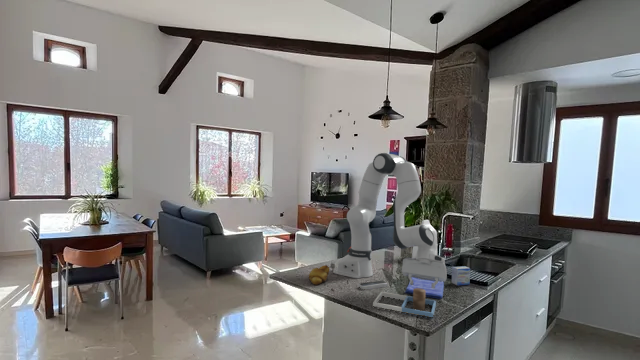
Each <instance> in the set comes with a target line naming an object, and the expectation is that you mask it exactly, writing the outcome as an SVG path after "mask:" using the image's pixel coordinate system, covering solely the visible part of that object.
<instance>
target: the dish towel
mask: <svg viewBox="0 0 640 360" xmlns="http://www.w3.org/2000/svg"><path fill="white" fill-rule="evenodd" d="M412 280H414V285H410V281H409V282H408V284H407V287H406V288H405V289H406V290H405V291H404V293H405V294H407V295H412V296H413V289H415V288H421V289H424V290H425V291H426V295H425V298H431V299H439V300H441V299H443V296H444V288H445V281H438V283H437V284H436V285H435V289H434V288H431V285H432V283H434V282H435V280H431V279H423V278H417V277H412Z"/></svg>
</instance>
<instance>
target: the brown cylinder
mask: <svg viewBox="0 0 640 360" xmlns="http://www.w3.org/2000/svg"><path fill="white" fill-rule="evenodd" d="M425 295H426V291H425V290H424V289H421V288H415V289H413V295H412V297H413V302H412V309H413V308H414V309H416V310H424V311H426V304H425V299H426V297H425Z"/></svg>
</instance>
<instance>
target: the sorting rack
mask: <svg viewBox="0 0 640 360" xmlns="http://www.w3.org/2000/svg"><path fill="white" fill-rule="evenodd" d="M382 296H384V297H382ZM381 297H382V298H387V297H390V298H389V299H393V298H395V299H394V300H399V299H400V301H403V303H402V304H401V306H397V305H392V304H387V303H386V304H385V303H382V302H381V303H380V301H381V300H382V298H381ZM379 300H380V301H379ZM378 301H379V302H378ZM410 301H412V303H413V296H410V295H405V294H404V295H403V294H398V293H391V292H385V291H380V293H379V294H378V295H377V297H376V298H375V299H374V300H373V302H372V307H373V306H378V307H382V308H387V309H392V310H397V311H402V312H408V313H414V314H419V315H425V316H429V317H433V318H434V316H433V315H435V310H436V307H437V300H434V299H428V298H425V305H428V304H429V305H430V306H432V308H431V312H430V311H426V310H424V311H420V310H415V309H413V308H408V307H407V305H408V303H407V302H410ZM377 302H378V303H377ZM406 304H407V305H406ZM405 306H406V307H405Z"/></svg>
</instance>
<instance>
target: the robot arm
mask: <svg viewBox="0 0 640 360" xmlns="http://www.w3.org/2000/svg"><path fill="white" fill-rule="evenodd" d="M386 176H391V177H393V176H394V177H395V179H396V185H397V193H396V196H395V197H394V200H393V233H392V241H393V243H394V245H395V246H397V248H398V249H401V250H404V249H405V250H406V249H408V248H413V247H414V246H418V250H417V255H416V258H412V257H408V256H407V257H404V258H403V259H402V266H401V274H402V276H403V277H408V280H409V282H410V285H414V280H412V277H414V278H418V279H423V280H431V281H435V282H434V283H432V285H431V288H434V289H435V285H436V284H437V283H438V281H440V282H446V281H447V278H448V276H447V272H448V271H447V267H446V261H445V258H444V257H442V256H440V255H438V254H437V255H436V254H435V251H436V247H437V248H438V236H437V237H436V233H435V231H434V230H432V229H429V228H428V227H426V226H425V225H421V224H417V225H413V226H412V225H411V226H409V227H408V226H407V227H405V211H406V208H408V206H410V205H411V203H413V202H416V200H417V199H418V198H419V197H420V195H421V194H422V186H421V181H420V177H419V173H418V171H417V168H416V165H415V164H414V163H412V162H410V161H407V159H406V158H405V157H403V156H401V155H397V154H394V153H387V152H383V153H381V152H380V153H378V154H376V155H375V156H374V158H373V161H372V162H370V163H369V164H368V165H367V167H366V169H365V172H364V174H363V177H362V180H361V181H360V182H361V183H360V186H359V189H358V203H357V205H354V206H352V207H351V208H350V209H349V210H348V211H347V213H346V219H347V222H348V223H349V228H350V235H351V241H350V244H351V245H350V247H349V248H348V249H347V251H346V253H347V254H346V255H344V256H343V257H342V258H340V260H338V263H337V267H335V268H333V271H332V273H333V274H335V275H339V276H344V277H348V278H353V279H360V278H370V277H372V276H373V275H374V272H373V266H372V265H373V264H372V258H373V251H372V250H373V249H372V234H371V231H370V226H369V224H370V222H371V223H372V221H373V220H374V219H375V217H376V215H377V214H376V213H377V206H378V205H377V204H378V199H379V195H380V192H381V189H382V186H383V183H384V180H385V177H386Z"/></svg>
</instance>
